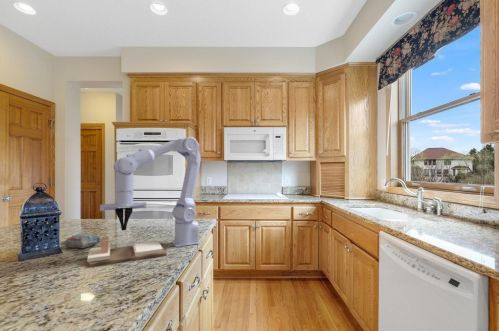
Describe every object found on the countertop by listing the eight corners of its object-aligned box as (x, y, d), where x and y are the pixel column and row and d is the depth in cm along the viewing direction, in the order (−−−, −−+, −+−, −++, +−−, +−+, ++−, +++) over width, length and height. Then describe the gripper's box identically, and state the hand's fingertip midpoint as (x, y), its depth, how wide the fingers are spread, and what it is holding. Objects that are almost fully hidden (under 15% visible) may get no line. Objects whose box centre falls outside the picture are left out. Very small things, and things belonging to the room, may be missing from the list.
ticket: (157, 243, 97) (158, 240, 97) (162, 252, 87) (162, 248, 87) (132, 247, 92) (133, 243, 92) (134, 256, 83) (135, 252, 83)
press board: (159, 245, 98) (160, 242, 98) (166, 255, 86) (166, 252, 86) (92, 253, 87) (92, 250, 87) (88, 267, 75) (88, 264, 75)
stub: (110, 249, 89) (110, 234, 89) (109, 259, 79) (109, 242, 79) (90, 251, 86) (90, 236, 86) (87, 262, 76) (87, 245, 76)
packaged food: (83, 251, 90) (84, 238, 90) (58, 249, 92) (58, 236, 92) (102, 245, 98) (103, 233, 98) (78, 243, 101) (79, 231, 101)
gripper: (99, 193, 79) (98, 234, 79) (147, 191, 86) (147, 229, 86) (101, 191, 85) (100, 230, 85) (145, 190, 92) (144, 225, 92)
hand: (123, 229), depth 86 cm, fingers closed
